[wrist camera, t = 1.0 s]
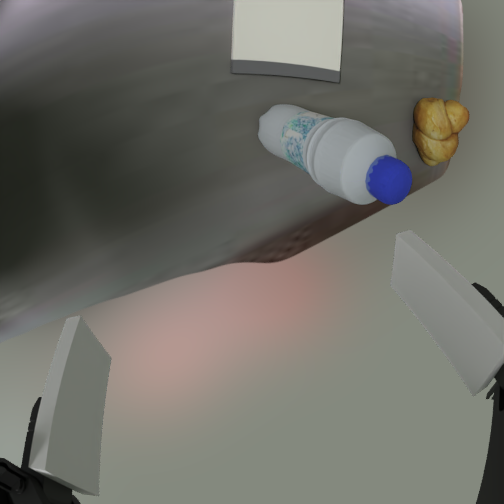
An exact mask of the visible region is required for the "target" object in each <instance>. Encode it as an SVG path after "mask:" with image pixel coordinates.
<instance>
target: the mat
mask: <svg viewBox="0 0 504 504" xmlns="http://www.w3.org/2000/svg"><path fill="white" fill-rule="evenodd" d="M342 27H343V0H234V5H233V26H232V51H231V73H244V74H266V75H280V76H291V77H301V78H309V79H317V80H324V81H331V82H338V83H339V80H340V61H341V46H342Z"/></svg>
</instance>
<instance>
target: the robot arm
mask: <svg viewBox="0 0 504 504" xmlns="http://www.w3.org/2000/svg"><path fill="white" fill-rule="evenodd" d="M390 285H391V287H392V288H393V289H394V290H395V292H396V293H397V294H398V295H399V297H400V298H401V299H402V300H403V301H404V303H405V304H406V305H407V306H408V307H409V309H410V310H411V311H412V313H413V314H414V315H415V316H416V318H417V319H418V320H419V321H420V323H421V324H422V325H423V327H424V328H425V329H426V331H427V332H428V333H429V335H430V336H431V337H432V338H433V340H434V341H435V343H436V344H437V345H438V347H439V348H440V349H441V351H442V352H443V353H444V355H445V356H446V358H447V359H448V360H449V362H450V363H451V365H452V366H453V368H454V369H455V370H456V372H457V373H458V375H459V376H460V377H461V379H462V380H463V382H464V384H465V385H466V386H467V388H468V389H469V391H470V393H471V394H472V396H475V395H476V394H478V393H479V392H480V391H482V390H483V389H484V388H486V387H487V386H488V385H489V383H490V382H491V381H492V379H493V378H495V379H496V383H495V384H494V385H493V387H492V388H491V389H490V391H489V392H488V393H487V397H486V399H489V398H490V396H491V395H492V394H493V393H494V395H493V397H492V399H493V400H494V405H493V417H492V426H491V435H490V442H489V448H488V454H487V460H486V465H485V470H484V474H483V479H482V483H481V487H480V491H479V494H478V498H477V502H476V504H504V306H502V304H501V303H500V302H499V301H498V300H496V299H495V297H494V296H493V295H492V294H491V293H490V292H489V291H488V290H487V289H486V288H484V287H483V286H481V285H479V284H477V283H473V284H470V283H469V282H468V281H467V280H466V279H465V278H464V277H463V276H462V275H461V274H460V273H459V272H458V271H457V270H456V269H455V268H454V267H453V266H451V265H450V264H449V263H448V262H447V261H446V260H445V259H444V258H443V257H442V256H440V255H439V254H438V253H437V252H436V251H435V250H434V249H433V248H431V247H430V246H429V245H428V244H427V243H426V242H424V241H423V240H422V239H421V238H420V237H419V236H417V235H416V234H415V233H414V232H413V231H411V230H408V231H404V232H400V233H397V234H396V243H395V252H394V261H393V269H392V277H391V284H390ZM110 364H111V357H110V355H109V354H108V353H107V352H106V351H105V349H104V348H103V346H102V345H101V344H100V342H99V341H98V340H97V338H96V337H95V335H94V334H93V333H92V331H91V330H90V328H89V327H88V325H87V324H86V323H85V321H84V320H83V318H82V317H81V315H80V316H76V317H71V318H67V319H66V322H65V325H64V328H63V330H62V333H61V336H60V339H59V342H58V345H57V348H56V350H55V354H54V357H53V360H52V363H51V367H50V370H49V373H48V377H47V380H46V384H45V387H44V391H43V395H42V397H39V398H38V400H37V401H36V403H35V405H34V407H33V409H32V413H31V417H30V421H31V422H30V423H29V427H28V432H27V437H26V442H25V447H24V453H23V460H22V465H21V468H19V467H18V466H15V465H14V464H12V463H11V462H9V461H8V460H6V459H4V458H0V504H80V502H79V501H78V499H77V498H76V497H75V496H74V495H72V490H74V491H77V492H79V493H81V494H86V495H94V496H99V471H100V450H101V437H102V425H103V415H104V406H105V398H106V391H107V383H108V377H109V370H110Z"/></svg>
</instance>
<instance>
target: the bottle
mask: <svg viewBox="0 0 504 504" xmlns="http://www.w3.org/2000/svg"><path fill="white" fill-rule="evenodd" d="M259 124H260V126H259V132H258V137H259V140H260V141H261V143H262V144H263V145H264V147H265V148H266V149H267V150H268V151H269V152H271V153H272V154H274V155H276V156H278V157H280V158H282V159H285V160H287V161H289V162H291V163H292V164H294V165H296V166H297V167H299V168H300V169H302V170H304V171H305V172H307V173H308V174H310V175H311V177H312V178H313V180H314V181H315V182H316V183H317V184H319V185H320V186H322V188H324V189H325V190H326V191H327V192H329V193H332V194H335V195H337V196H340V197H342V198H344V199H346V200H348V201H350V202H353V203H355V204H361V205H363V204H369V203H372V202H374V201H375V200H377V199H378V200H379V201H381V202H383V203H385V204H391V205H393V204H397V203H399V202H401V201H402V200H403V199H404V198H405V197H406V196H407V194H408V193H409V191H410V188H411V185H412V175H411V171H410V169H409V167H408V166H407V165H406V164H405V163H404V162H402V161H401V160H399V159H397V157H396V152H395V148H394V146H393V144H392V143H391V141H390V140H389V139H388V138H387V137H386V136H384V135H383V134H381V133H379V132H377V131H375V130H374V129H372V128H370V127H368V126H367V125H365V124H364V123H362V122H360V121H357V120H351V119H348V118H332V117H329V116H325V115H322V114H318V113H315V112H311V111H308V110H306V109H303V108H301V107H298V106H295V105H290V104H278V105H274V106H272V107H271V108H270V110H269V111H267V112H266V113H265V114H264V115H262V116H261V117H260V119H259Z"/></svg>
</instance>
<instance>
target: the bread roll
mask: <svg viewBox="0 0 504 504" xmlns="http://www.w3.org/2000/svg"><path fill="white" fill-rule="evenodd" d="M414 120H415V124H414V126H413V141H414V143H415V145H416V146H417V148H418V152H419V154H420V156H421V158H422V160H423V161H424V163H426V164H427V165H429V166H434V165H437V164H439V163H440V162H444V161H447V160H449V159H450V158H451V157H452V156H453V155H454V154H455V152H456V149H457V147H458V133H459V132H460V131H461V130H462V128H463V127H464V126H465V125H466V124H467V123H468V120H469V111H468V110H467V108H465V107H463V106H462V105H461V104H460V103H458V102H457V101H453V100H448V101H446V102H444V101H443V100H442V99H437V98H423V99H421V100H420V101H419V102H418V103H417V105H416V106H415V108H414Z"/></svg>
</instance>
